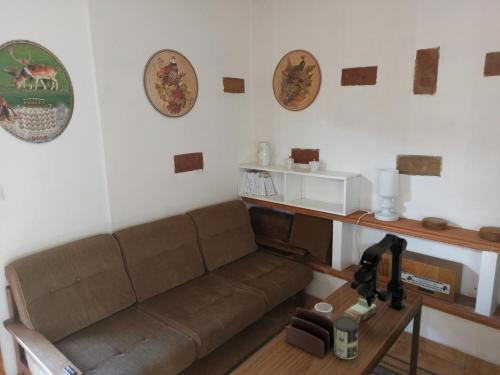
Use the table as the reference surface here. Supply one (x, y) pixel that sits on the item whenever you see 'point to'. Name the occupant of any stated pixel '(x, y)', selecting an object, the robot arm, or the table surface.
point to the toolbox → (368, 313)
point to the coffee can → (346, 337)
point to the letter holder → (311, 332)
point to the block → (352, 315)
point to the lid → (361, 307)
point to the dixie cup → (323, 309)
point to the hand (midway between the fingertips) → (369, 306)
